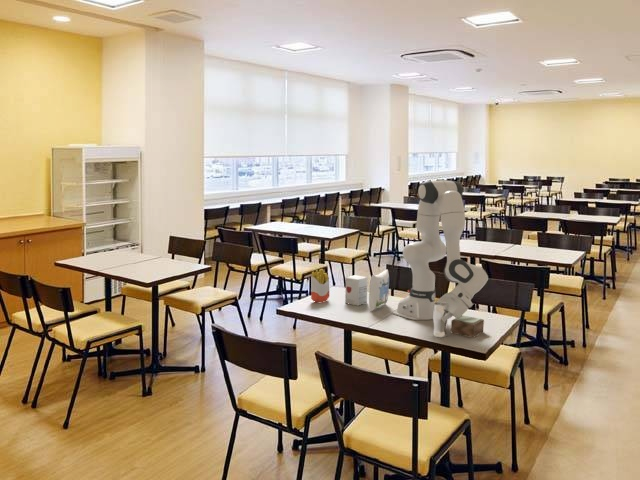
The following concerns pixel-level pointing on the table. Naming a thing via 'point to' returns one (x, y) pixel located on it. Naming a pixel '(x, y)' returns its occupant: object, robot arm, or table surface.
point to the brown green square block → (467, 326)
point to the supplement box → (356, 290)
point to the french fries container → (319, 286)
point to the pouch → (378, 290)
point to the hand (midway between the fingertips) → (439, 318)
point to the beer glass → (439, 319)
